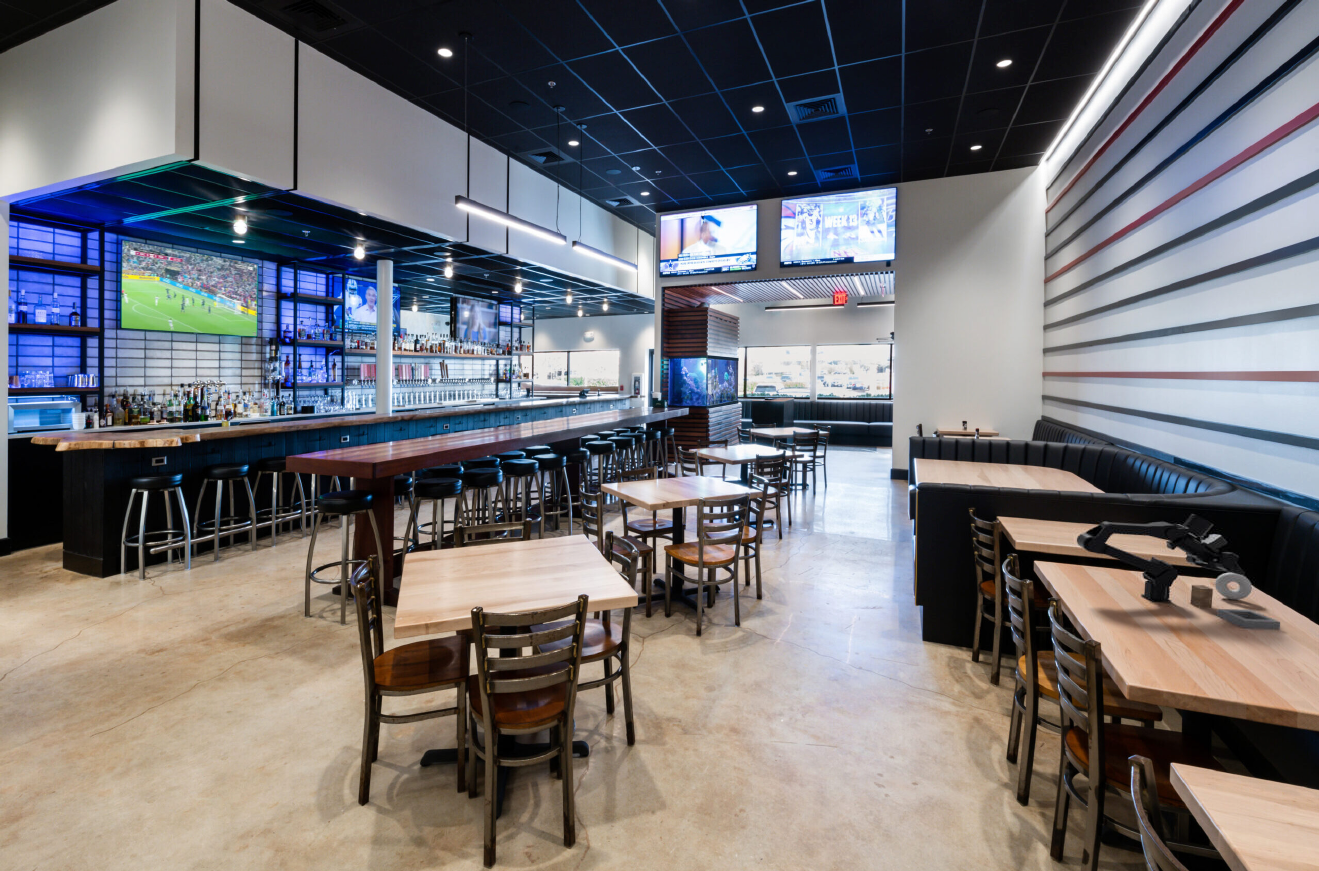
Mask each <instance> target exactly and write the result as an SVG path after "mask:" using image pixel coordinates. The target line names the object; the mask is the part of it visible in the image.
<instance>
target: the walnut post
mask: <svg viewBox="0 0 1319 871" xmlns="http://www.w3.org/2000/svg"><path fill="white" fill-rule="evenodd" d="M1190 593H1191V594H1190V605H1192V606H1194V605H1195V606H1194V607H1196V606H1197V607H1196V608H1199V607H1200V608H1199V609H1212V608H1213V606H1212V605H1213V593H1214V589H1213V588H1212V587H1209V586H1207V585H1201V584H1191V592H1190Z"/></svg>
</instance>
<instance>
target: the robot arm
mask: <svg viewBox="0 0 1319 871" xmlns="http://www.w3.org/2000/svg"><path fill="white" fill-rule="evenodd" d="M1213 526H1214V524H1213V523H1212V522H1211V521H1209V520H1206V519H1204V518H1203V517H1200V516H1198V515H1196V514H1193V513H1191V514H1190V515H1189V516H1188V518H1187V519H1186V521H1185V522H1184V523H1183V524H1178V523H1169V522H1166V521H1155V522H1149V523H1131V522H1130V523H1129V522H1128V523H1127V522H1111V521H1110V522H1109V521H1102V522H1100V523H1099V524H1098V525H1096V526H1094V527H1093V528H1089V529H1088V530H1087V531H1085V532H1083V533H1080V534H1079V535H1078V536H1077V538H1076V543H1077V545H1078V546H1079V547H1081V548H1082V549H1084V550H1085V551H1088V552H1089V553H1094V554H1098V555H1104V556H1109V557H1111V558H1114V559H1116V560H1119V561H1122V562H1123V563H1126V564H1128V565H1132V566H1135V567H1137V568H1139V569H1142V570H1145V571H1144V572H1142V577H1143V579H1144V580H1145V581H1144V594H1140V596H1141V597H1142V598H1145V599H1147V600H1148V601H1151V602H1154V603H1155V602H1156V603H1157V602H1158V603H1172V600H1171V599H1170V596H1171V594H1170V592H1171V591H1170V590H1171V587H1172V585H1173V583H1174V581H1176V580H1177V578H1178V576H1179V572H1178V569H1176V568H1174V567H1173V566H1174V565H1173V564H1171V563H1169V562H1167V561H1166V560H1162V559H1159V558H1156V557H1155V556H1151V558H1150V559H1149V558H1147V559H1146V558H1143V557H1141V556H1139V555H1136V554H1133V553H1131V552H1128V551H1126V550H1124V549H1121V548H1118V547H1115V546H1113V545H1110V544H1108V543H1107V541H1108V540H1109V539H1110V537H1111V536H1113V535H1126V536H1127V535H1128V536H1133V535H1134V536H1147V537H1152V538H1156V539H1160V540H1165V541H1166V548H1168V549H1170V550H1171V551H1174V550H1175V549H1176V548H1177V549H1179V550H1181V551H1183V552H1184V553H1185V555H1186V557H1185V560H1186V562H1187V563H1189V564H1190V565H1194V566H1197V567H1199V568H1200V567H1202V568H1205V569H1210V570H1213V571H1218V572H1221V573H1223V572H1226V573H1235V574H1239V575H1242V576H1244V577H1245V574H1246V572H1245V571H1244V570H1243V569H1242V567H1240V565H1239V564H1238V563H1237V561H1238V560H1239V557H1240V556H1239V555H1237V554H1236V553H1234V552H1230V551H1229V552H1228V551H1224V552H1221V553H1220V554H1218V553H1219V552H1220V550H1219V549H1220V548H1221V547H1223V546H1225V545H1227V544H1228V542H1227V540H1226V539H1225V538H1224V536H1222V535H1221V534H1215V533H1214V534H1213V533H1212V534H1207V533H1208V532H1209V530H1210V529H1211V528H1212V527H1213ZM1192 536H1193V537H1192ZM1198 537H1199V540H1200V541H1199V540H1197V539H1195V538H1198Z"/></svg>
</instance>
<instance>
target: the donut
mask: <svg viewBox="0 0 1319 871" xmlns="http://www.w3.org/2000/svg"><path fill="white" fill-rule="evenodd" d="M1229 583H1236V584H1237V585H1238V589H1234V590H1233V589H1230V588H1229V587H1228V585H1229ZM1214 586H1215V590H1216V591H1217V592H1218V593H1219V594H1220V595H1221V596H1222V597H1223V598H1226V599H1229V600H1243V599H1245V598H1247V597H1249V595H1250V594H1251V593H1252V590H1253V588H1252V583H1251V581H1250V580H1249V579H1248V578H1247V576H1245V575H1244V576H1243V575H1239V574H1235V573H1231V572H1226V573H1222V574H1220V575H1218V576H1217V578H1216V579H1215V582H1214Z"/></svg>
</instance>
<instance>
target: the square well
mask: <svg viewBox="0 0 1319 871" xmlns="http://www.w3.org/2000/svg"><path fill="white" fill-rule="evenodd" d="M1216 616H1217V617H1219V618H1221V619H1223V620H1225V621H1227V622H1230V623H1232V624H1234V625H1237V627H1238V626H1239V627H1240V628H1242V629H1245V630H1246V629H1249V630H1250V629H1252V630H1253V629H1254V630H1281V621H1278V620H1277V619H1274V618H1272V617H1269V616H1267V615H1265V614H1262V613H1260V612H1256V611H1254V610H1252V609H1237V608H1235V609H1234V608H1233V609H1232V608H1230V609H1228V608H1217V613H1216Z"/></svg>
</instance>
